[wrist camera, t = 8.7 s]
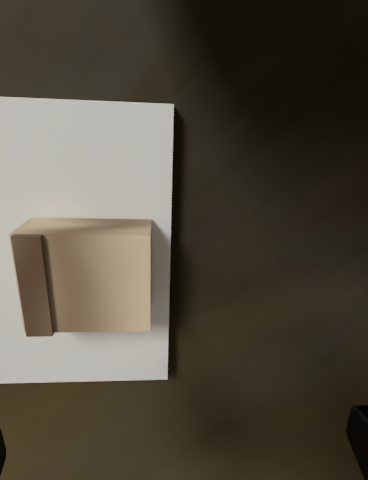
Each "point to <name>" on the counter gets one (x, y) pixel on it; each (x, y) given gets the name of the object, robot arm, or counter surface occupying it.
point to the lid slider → (83, 274)
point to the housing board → (85, 206)
